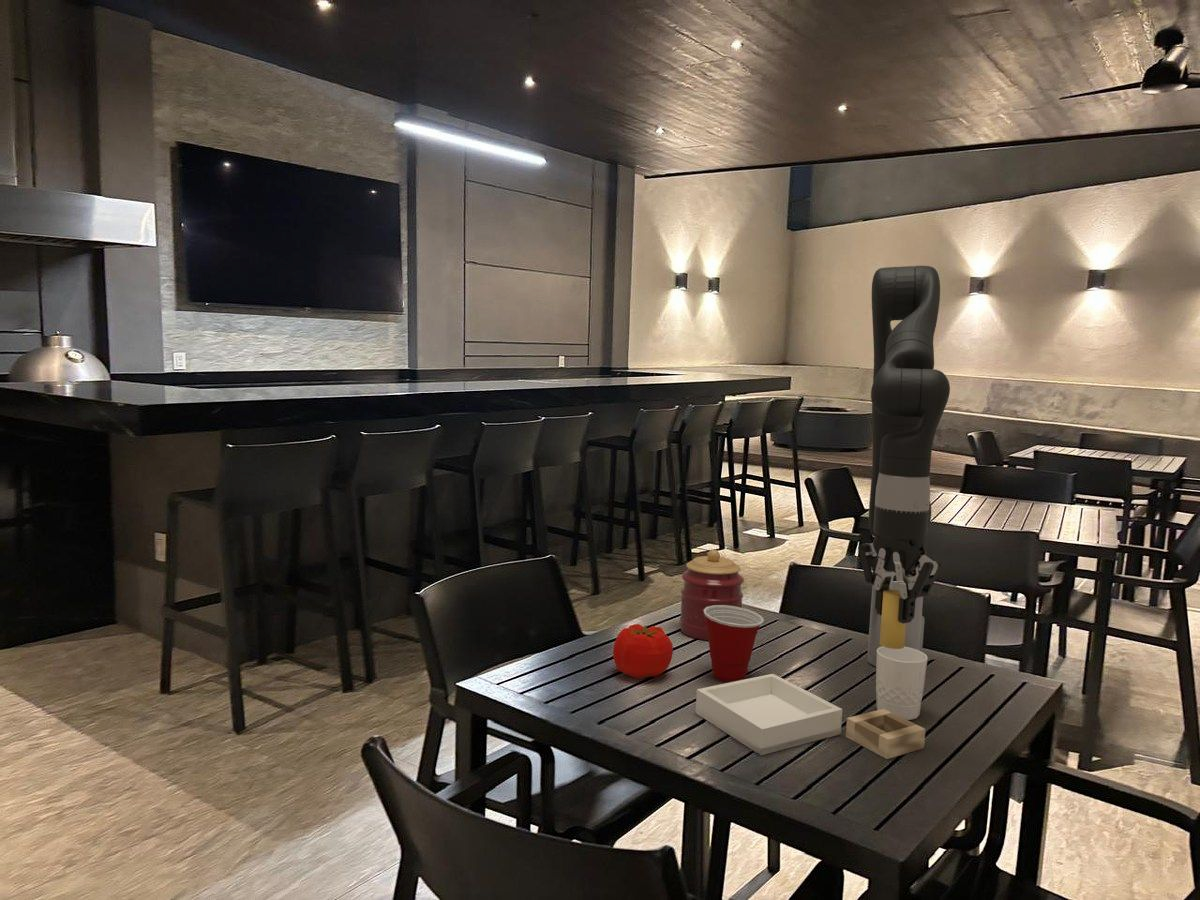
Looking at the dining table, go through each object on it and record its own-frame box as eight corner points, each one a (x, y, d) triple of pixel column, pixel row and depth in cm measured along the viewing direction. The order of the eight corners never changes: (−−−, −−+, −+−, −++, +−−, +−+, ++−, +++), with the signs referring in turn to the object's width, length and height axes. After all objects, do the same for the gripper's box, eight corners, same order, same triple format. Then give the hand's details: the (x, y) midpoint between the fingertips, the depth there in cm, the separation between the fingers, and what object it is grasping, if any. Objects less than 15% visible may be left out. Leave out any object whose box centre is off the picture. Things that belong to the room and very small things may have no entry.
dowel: (890, 639, 126) (894, 588, 126) (909, 646, 123) (913, 594, 123) (874, 642, 125) (878, 591, 124) (893, 650, 122) (896, 597, 121)
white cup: (899, 725, 132) (903, 665, 131) (862, 706, 139) (866, 648, 138) (933, 717, 136) (938, 658, 134) (896, 699, 143) (900, 642, 141)
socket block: (882, 726, 131) (883, 708, 131) (924, 748, 124) (925, 728, 124) (845, 736, 127) (846, 718, 127) (886, 759, 120) (888, 739, 120)
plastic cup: (760, 691, 144) (764, 624, 142) (697, 684, 146) (701, 618, 145) (761, 669, 154) (764, 606, 153) (702, 663, 156) (705, 601, 155)
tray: (771, 696, 142) (772, 673, 142) (840, 734, 128) (842, 709, 128) (695, 713, 134) (696, 689, 134) (760, 755, 120) (762, 729, 120)
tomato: (681, 682, 147) (683, 634, 146) (623, 688, 143) (625, 639, 142) (657, 661, 157) (659, 616, 156) (603, 666, 153) (604, 621, 152)
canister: (725, 646, 166) (729, 560, 164) (668, 633, 173) (671, 550, 171) (750, 630, 177) (755, 549, 175) (696, 618, 184) (699, 540, 182)
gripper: (960, 511, 117) (950, 629, 119) (881, 495, 130) (874, 602, 132) (924, 515, 114) (915, 636, 116) (847, 498, 126) (840, 608, 128)
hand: (893, 617), depth 124 cm, fingers closed on dowel, 3 cm apart
